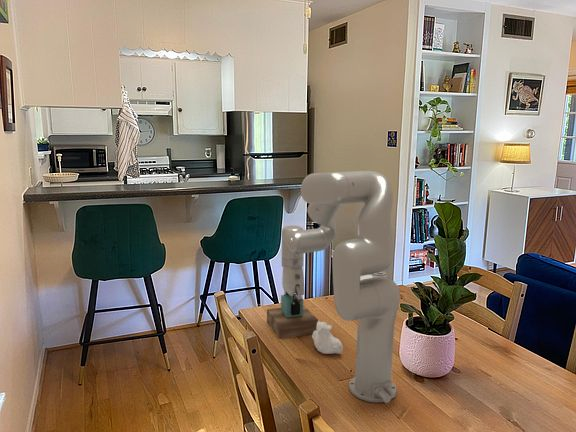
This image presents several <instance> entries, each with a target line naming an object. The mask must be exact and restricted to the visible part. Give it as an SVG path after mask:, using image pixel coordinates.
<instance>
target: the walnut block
mask: <svg viewBox="0 0 576 432" xmlns="http://www.w3.org/2000/svg"><path fill="white" fill-rule="evenodd" d="M318 321H319V319H318V317H316V316H315V315H314V314H313V313H312V312H311V311H310V310H309V309H308V308H307V307H306V306H305V305H304V304H303V316H296V317H289V318H287V317H286V316H285V315H284V314H283V313H282V312H281V307H275V308H268V309H266V323H267V324H268V326H269V327H270V328H271V330H272V331H273V332H274V334H275V335H276V336H277V338H278V339H279V340H281V339H288V338H294V337H300V336H307V335H313V332H314V331H315V330H317V329H316V327H317V322H318Z"/></svg>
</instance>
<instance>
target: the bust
mask: <svg viewBox="0 0 576 432" xmlns="http://www.w3.org/2000/svg"><path fill="white" fill-rule="evenodd" d="M316 329H317V330H315V331H314V332H313V334H311V337H312V340H313V343H314V347H315V348H316V349H317V351H318V352H319V353H322V354H323V355H330V354H331V355H332V354H337V355H338V354H339V355H340V354H342V353H343V350H344V346H343V344H342V342H341V340H340V339H339V338H337V337H335V336H333V333H331V330H333V325H331V324H328V323H327V322H326V321H320V320H318V322H317V327H316Z"/></svg>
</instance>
